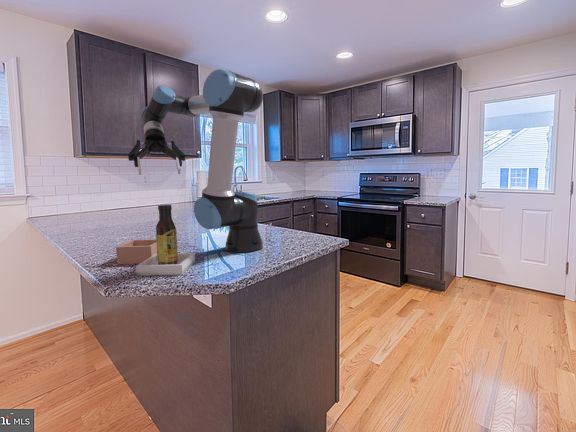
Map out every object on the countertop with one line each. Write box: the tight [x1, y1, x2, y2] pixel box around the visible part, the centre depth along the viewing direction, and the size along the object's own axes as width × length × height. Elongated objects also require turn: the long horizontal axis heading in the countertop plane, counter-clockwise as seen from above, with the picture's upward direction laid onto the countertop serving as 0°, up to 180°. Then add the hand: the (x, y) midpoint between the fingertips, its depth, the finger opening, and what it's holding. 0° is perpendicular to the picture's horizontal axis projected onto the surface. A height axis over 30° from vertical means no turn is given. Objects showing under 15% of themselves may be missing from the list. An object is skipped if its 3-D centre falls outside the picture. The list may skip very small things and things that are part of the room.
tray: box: [135, 253, 196, 277], centre depth 103 cm, size 14×14×3 cm
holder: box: [115, 238, 157, 265], centre depth 116 cm, size 12×12×6 cm
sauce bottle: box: [155, 204, 179, 265], centre depth 102 cm, size 6×6×20 cm
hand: (160, 171), depth 117 cm, fingers open, 13 cm apart
